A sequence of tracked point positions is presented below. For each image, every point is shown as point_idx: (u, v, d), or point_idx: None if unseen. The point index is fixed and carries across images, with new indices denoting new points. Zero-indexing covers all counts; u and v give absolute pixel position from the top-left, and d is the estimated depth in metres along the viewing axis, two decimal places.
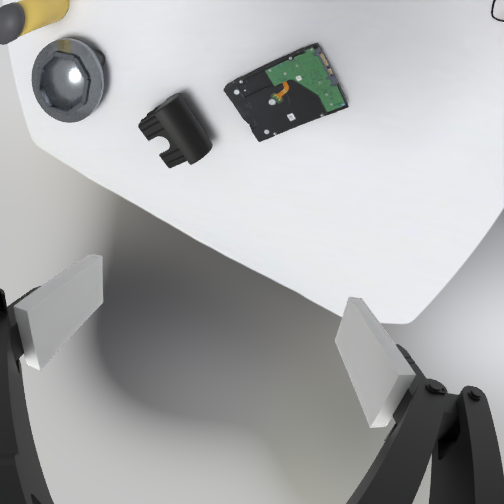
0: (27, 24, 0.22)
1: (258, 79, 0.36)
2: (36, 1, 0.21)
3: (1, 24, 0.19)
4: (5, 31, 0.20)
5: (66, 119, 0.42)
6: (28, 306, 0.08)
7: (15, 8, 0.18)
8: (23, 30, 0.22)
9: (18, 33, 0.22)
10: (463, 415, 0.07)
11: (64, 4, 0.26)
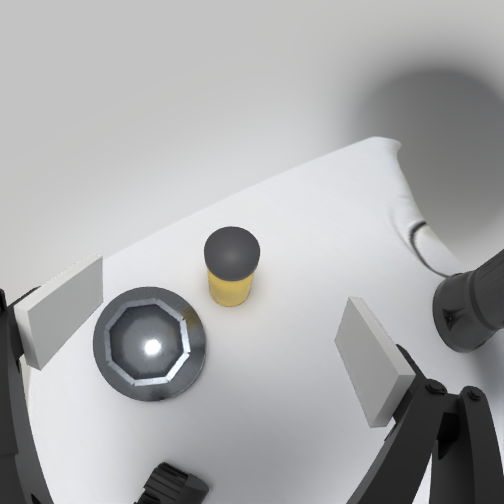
0: (230, 283, 0.36)
1: None
2: None
3: (231, 245, 0.35)
4: (224, 255, 0.34)
5: (98, 358, 0.35)
6: (28, 306, 0.08)
7: (257, 262, 0.35)
8: (223, 280, 0.35)
9: (223, 277, 0.34)
10: (463, 415, 0.07)
11: (238, 302, 0.43)
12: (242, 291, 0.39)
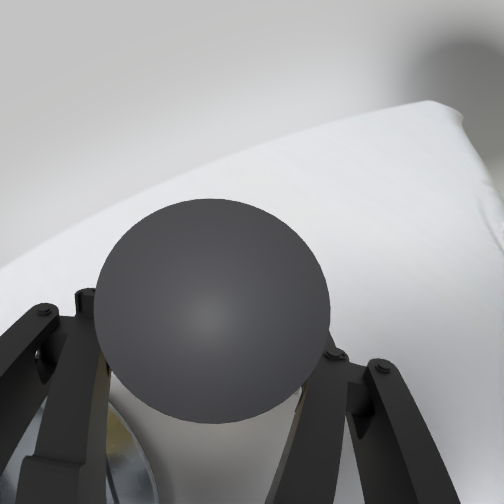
0: None
1: None
2: None
3: (208, 274, 0.08)
4: (175, 321, 0.07)
5: None
6: None
7: None
8: None
9: None
10: (375, 391, 0.08)
11: None
12: None
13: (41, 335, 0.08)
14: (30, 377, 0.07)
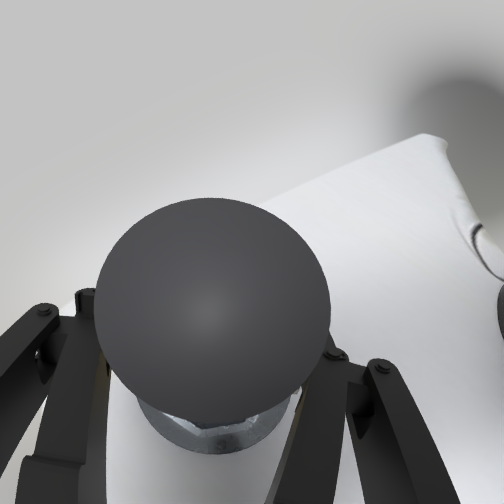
0: None
1: None
2: None
3: (209, 273, 0.08)
4: (175, 320, 0.07)
5: None
6: None
7: None
8: None
9: None
10: (374, 391, 0.08)
11: None
12: None
13: (41, 335, 0.08)
14: (30, 377, 0.07)
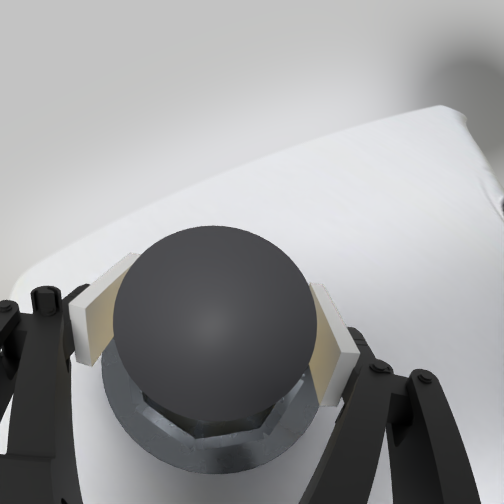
0: None
1: None
2: None
3: (212, 294, 0.09)
4: (184, 335, 0.09)
5: (115, 396, 0.17)
6: (84, 303, 0.10)
7: None
8: None
9: None
10: (415, 400, 0.08)
11: None
12: None
13: (4, 331, 0.07)
14: None
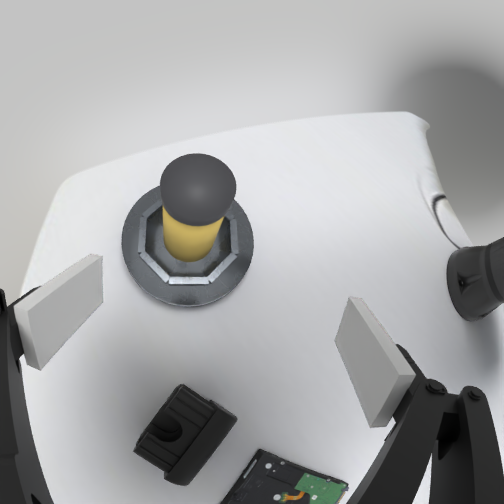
0: (187, 228, 0.26)
1: (292, 473, 0.30)
2: (220, 225, 0.29)
3: (199, 176, 0.25)
4: (186, 188, 0.24)
5: (127, 249, 0.33)
6: (28, 306, 0.08)
7: (229, 206, 0.25)
8: (179, 222, 0.25)
9: (179, 218, 0.24)
10: (463, 415, 0.07)
11: (196, 258, 0.33)
12: (202, 243, 0.30)
13: None
14: None
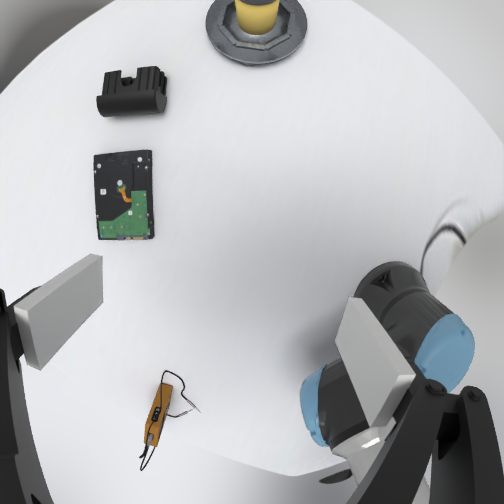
0: None
1: (141, 181, 0.45)
2: (259, 15, 0.31)
3: None
4: None
5: None
6: (28, 306, 0.08)
7: (257, 1, 0.26)
8: None
9: None
10: (463, 415, 0.07)
11: (243, 28, 0.36)
12: (244, 17, 0.32)
13: None
14: None
